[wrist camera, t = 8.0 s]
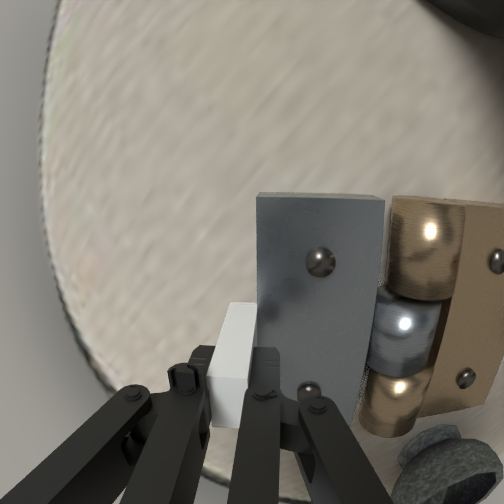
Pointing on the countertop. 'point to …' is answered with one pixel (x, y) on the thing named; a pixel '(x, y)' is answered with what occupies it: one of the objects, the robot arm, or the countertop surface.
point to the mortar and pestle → (446, 469)
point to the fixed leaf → (443, 308)
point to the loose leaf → (333, 297)
